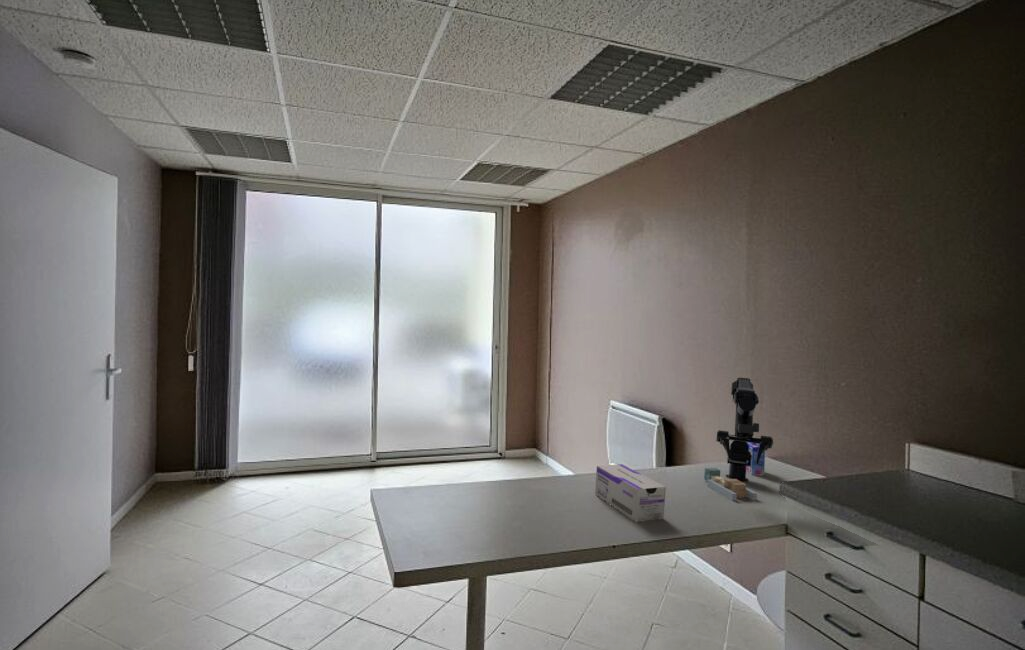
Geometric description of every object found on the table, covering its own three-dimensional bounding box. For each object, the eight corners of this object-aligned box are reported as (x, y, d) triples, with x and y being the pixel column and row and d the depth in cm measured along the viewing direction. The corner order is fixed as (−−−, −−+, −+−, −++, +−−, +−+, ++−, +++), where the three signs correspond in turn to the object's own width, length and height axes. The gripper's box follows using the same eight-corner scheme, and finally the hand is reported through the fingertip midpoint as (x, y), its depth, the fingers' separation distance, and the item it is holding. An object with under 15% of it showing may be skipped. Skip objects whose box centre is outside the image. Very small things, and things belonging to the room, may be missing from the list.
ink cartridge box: (743, 468, 236) (745, 435, 236) (756, 469, 236) (758, 436, 235) (751, 475, 227) (753, 441, 226) (764, 476, 226) (766, 442, 226)
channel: (707, 485, 208) (707, 479, 208) (729, 485, 211) (730, 479, 210) (732, 500, 193) (732, 493, 193) (756, 500, 195) (757, 493, 195)
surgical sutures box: (663, 519, 172) (665, 486, 172) (635, 522, 168) (637, 489, 168) (620, 493, 195) (622, 464, 195) (595, 495, 191) (596, 465, 191)
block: (723, 492, 202) (724, 479, 202) (735, 491, 203) (736, 479, 203) (733, 498, 196) (734, 484, 196) (745, 497, 197) (746, 484, 197)
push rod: (704, 479, 215) (704, 468, 215) (715, 478, 216) (715, 467, 216) (722, 489, 203) (723, 478, 202) (734, 489, 204) (735, 477, 204)
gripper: (718, 410, 195) (716, 451, 188) (775, 416, 189) (774, 459, 182) (717, 420, 204) (715, 460, 198) (771, 427, 198) (770, 468, 191)
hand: (743, 462), depth 192 cm, fingers open, 9 cm apart
